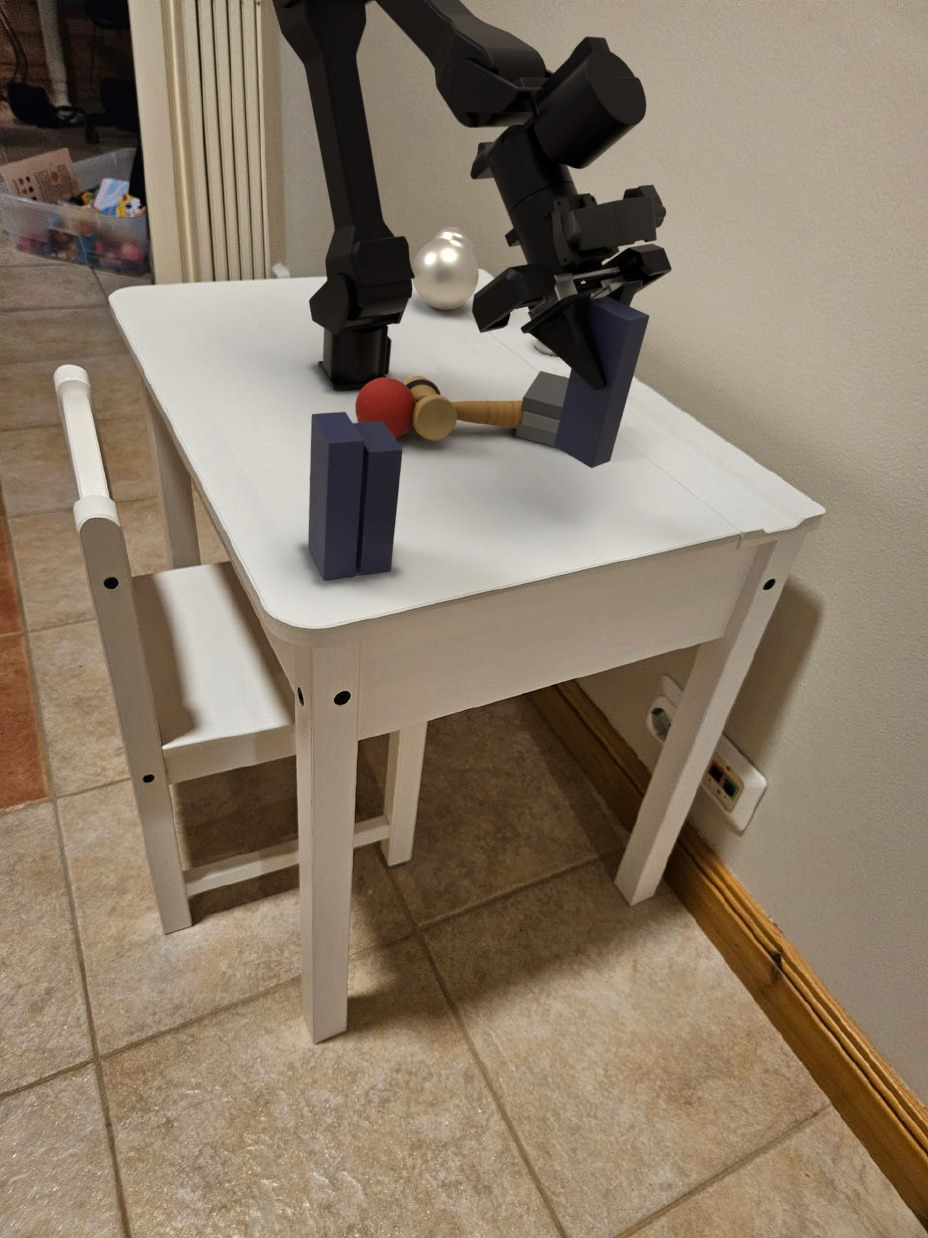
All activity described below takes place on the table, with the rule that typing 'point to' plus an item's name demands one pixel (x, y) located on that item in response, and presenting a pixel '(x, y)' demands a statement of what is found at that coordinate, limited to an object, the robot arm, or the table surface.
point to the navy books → (352, 495)
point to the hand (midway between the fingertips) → (612, 384)
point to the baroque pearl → (446, 270)
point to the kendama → (427, 408)
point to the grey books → (542, 408)
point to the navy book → (599, 412)
